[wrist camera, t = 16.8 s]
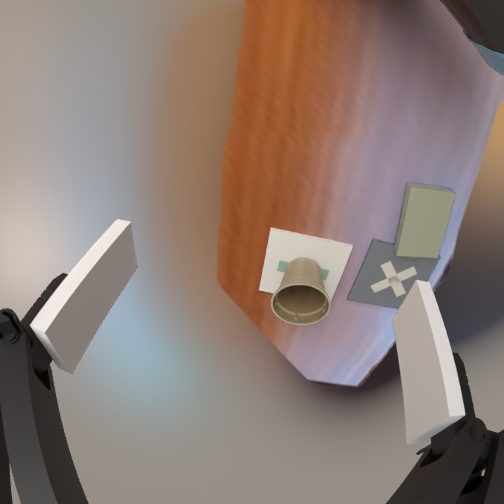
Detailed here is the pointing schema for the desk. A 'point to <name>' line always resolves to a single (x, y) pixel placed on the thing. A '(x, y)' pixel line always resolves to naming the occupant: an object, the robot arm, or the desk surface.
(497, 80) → the desk surface
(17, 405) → the robot arm
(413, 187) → the notebook
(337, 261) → the pad
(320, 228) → the desk surface
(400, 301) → the pad
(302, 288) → the flower pot
